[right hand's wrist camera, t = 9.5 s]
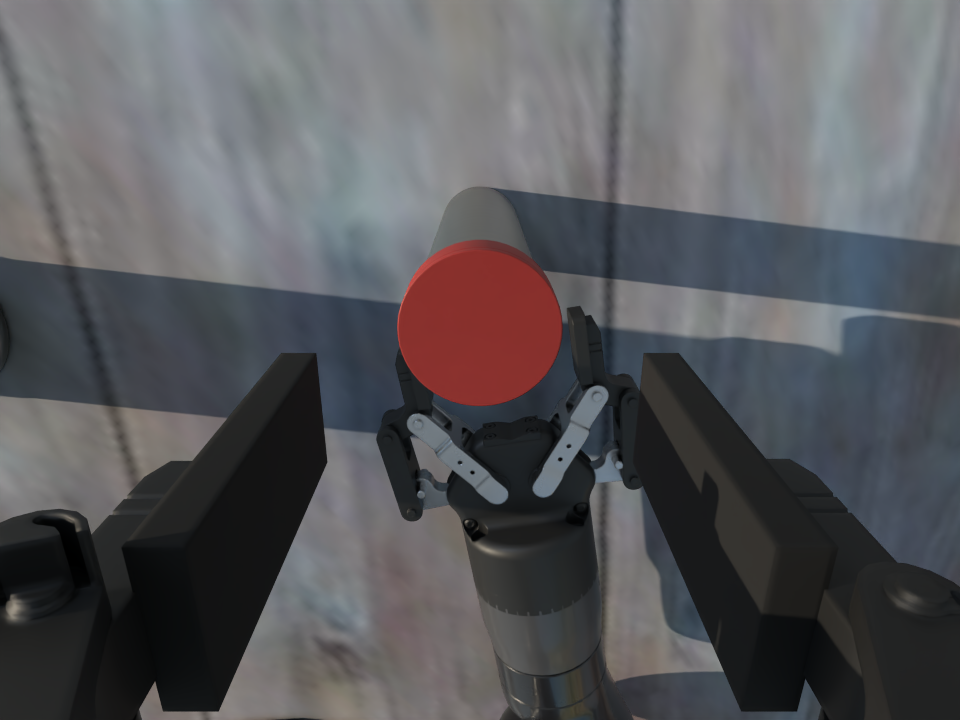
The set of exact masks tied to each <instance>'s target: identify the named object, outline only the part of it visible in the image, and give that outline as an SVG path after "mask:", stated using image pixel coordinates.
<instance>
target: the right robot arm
mask: <svg viewBox="0 0 960 720" xmlns="http://www.w3.org/2000/svg"><path fill="white" fill-rule="evenodd" d="M326 464H327V454H326V444H325V435H324V425H323V415H322V405H321V395H320V386H319V376H318V366H317V356H316V353H281V354H280V355H279V357H278V358H277V359H276V360H275V361H274V363H273V364H272V365H271V366H270V368H269V369H268V370H267V371H266V372H265V374H264V375H263V376H262V377H261V378H260V380H259V381H258V382H257V383H256V385H255V386H254V387H253V388H252V389H251V391H250V392H249V393H248V394H247V395H246V397H245V398H244V399H243V400H242V401H241V403H240V404H239V405H238V406H237V408H236V409H235V410H234V411H233V412H232V414H231V415H230V416H229V417H228V418H227V420H226V421H225V422H224V423H223V425H222V426H221V427H220V428H219V429H218V431H217V432H216V433H215V434H214V435H213V437H212V438H211V439H210V440H209V442H208V443H207V444H206V445H205V446H204V448H203V449H202V450H201V451H200V452H199V454H198V455H197V456H196V457H195V458H194V460H193V461H170V462H169V463H167V464H165V465H164V466H162V467H160V468H159V469H157V470H155V471H154V472H152V473H150V474H149V475H147V476H145V477H144V478H143V479H142V480H141V481H140V482H139V484H138V485H137V486H136V487H135V488H134V489H133V490H132V491H131V492H130V493H129V494H128V495H127V499H124V500H123V501H122V502H121V503H120V504H119V505H118V506H117V507H116V509H115V510H114V511H113V515H109V516H108V517H107V518H106V519H105V520H104V522H103V523H102V524H101V525H100V526H99V527H98V528H97V529H96V530H95V531H94V532H93V534H92V535H91V532H90V528H89V525H88V521H87V519H86V518H85V517H84V516H82V515H81V514H80V513H78V512H76V511H70V510H63V509H54V510H43V511H35V512H32V513H28V514H24V515H20V516H16V517H13V518H10V519H8V520H6V521H3V522H1V523H0V720H142V718H141V715H140V711H139V708H140V706H141V705H142V703H143V701H144V699H145V698H146V696H147V694H148V692H149V691H150V689H151V687H152V685H153V684H154V682H156V686H157V690H158V694H159V697H160V701H161V705H162V709H163V711H219V709H220V707H221V705H222V702H223V700H224V698H225V696H226V693H227V691H228V689H229V686H230V684H231V682H232V680H233V677H234V675H235V673H236V670H237V668H238V666H239V664H240V661H241V659H242V657H243V654H244V652H245V650H246V647H247V645H248V643H249V641H250V638H251V636H252V634H253V631H254V629H255V627H256V625H257V622H258V620H259V618H260V615H261V613H262V611H263V609H264V606H265V604H266V602H267V599H268V597H269V595H270V592H271V590H272V588H273V586H274V583H275V581H276V579H277V576H278V574H279V572H280V570H281V567H282V565H283V563H284V560H285V558H286V556H287V553H288V551H289V549H290V547H291V544H292V542H293V540H294V537H295V535H296V533H297V531H298V528H299V526H300V524H301V521H302V519H303V517H304V515H305V512H306V510H307V508H308V505H309V503H310V501H311V498H312V496H313V494H314V492H315V489H316V487H317V485H318V482H319V480H320V478H321V476H322V473H323V471H324V469H325V466H326ZM633 464H634V466H635V469H636V471H637V473H638V476H639V478H640V480H641V482H642V485H643V487H644V489H645V492H646V494H647V496H648V498H649V501H650V503H651V505H652V508H653V510H654V512H655V515H656V517H657V519H658V521H659V524H660V526H661V528H662V531H663V533H664V535H665V537H666V540H667V542H668V544H669V547H670V549H671V551H672V553H673V556H674V558H675V560H676V563H677V565H678V567H679V570H680V572H681V574H682V576H683V579H684V581H685V583H686V586H687V588H688V590H689V592H690V595H691V597H692V599H693V602H694V604H695V606H696V609H697V611H698V613H699V615H700V618H701V620H702V622H703V625H704V627H705V629H706V631H707V634H708V636H709V638H710V641H711V643H712V645H713V647H714V650H715V652H716V654H717V657H718V659H719V661H720V664H721V666H722V668H723V670H724V673H725V675H726V677H727V680H728V682H729V684H730V686H731V689H732V691H733V693H734V696H735V698H736V700H737V702H738V705H739V707H740V709H741V711H797V709H798V705H799V701H800V697H801V694H802V690H803V686H804V682H805V679H806V680H807V682H808V684H809V686H810V687H811V689H812V691H813V693H814V694H815V696H816V698H817V699H818V701H819V703H820V705H821V706H822V707H821V711H820V715H819V718H818V720H960V587H959V586H958V585H956V584H955V583H954V582H952V581H950V580H948V579H946V578H944V577H942V576H940V575H938V574H936V573H934V572H932V571H929V570H926V569H923V568H919V567H916V566H913V565H909V564H906V563H897V562H896V561H895V560H894V559H893V557H892V556H891V555H890V554H889V553H888V552H887V551H886V550H885V549H884V548H883V547H882V546H881V544H880V543H879V542H878V541H877V540H876V539H875V538H874V537H873V536H872V535H871V534H870V533H869V532H868V530H867V529H866V528H865V527H864V526H863V525H862V524H861V523H860V522H859V521H858V520H857V519H856V518H855V516H854V515H853V514H852V513H848V511H847V508H846V507H845V506H844V505H843V503H842V502H841V501H840V500H839V499H838V498H837V497H833V493H832V492H831V491H830V489H829V488H828V487H827V486H826V485H825V484H824V483H823V482H822V481H821V480H820V479H819V478H818V477H817V475H815V474H814V473H812V472H810V471H809V470H807V469H805V468H804V467H802V466H800V465H799V464H797V463H795V462H794V461H792V460H790V459H766V458H765V457H764V456H763V455H762V454H761V452H760V451H759V450H758V449H757V448H756V446H755V445H754V444H753V443H752V442H751V440H750V439H749V438H748V437H747V435H746V434H745V433H744V432H743V431H742V429H741V428H740V427H739V426H738V425H737V423H736V422H735V421H734V420H733V418H732V417H731V416H730V415H729V414H728V412H727V411H726V410H725V409H724V408H723V406H722V405H721V404H720V403H719V402H718V400H717V399H716V398H715V397H714V395H713V394H712V393H711V392H710V391H709V389H708V388H707V387H706V386H705V385H704V383H703V382H702V381H701V380H700V378H699V377H698V376H697V375H696V374H695V372H694V371H693V370H692V369H691V368H690V366H689V365H688V364H687V363H686V361H685V360H684V359H683V358H682V357H681V355H680V354H679V353H644V356H643V366H642V376H641V386H640V395H639V405H638V415H637V425H636V435H635V444H634V454H633Z"/></svg>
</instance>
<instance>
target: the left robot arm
mask: <svg viewBox="0 0 960 720" xmlns="http://www.w3.org/2000/svg"><path fill="white" fill-rule="evenodd" d="M567 317H568V324H569V332H570V340H571V348H572V356H573V364H574V370H575V373H576V376H577V379H576V381H575V382H574V384H573V386H572V387H571V389H570V390H569V392H568V394H567V395H566V397H565V398H562V399H561V400H560V401H559V402H558V404H557V406H556V407H555V409H554V410H553V412H552V414H551V415H550V417H549V418H548V420H547V421H545V420H541V419H538V418H537V416H531V417H524V418H521V419H519V420H517V421H514V422H512V423H504V422H492V423H485V424H483V428H481V429H479V430H477V431H475V430H473V429H472V428H471V427H470V426H469V425H467V424H466V423H465V422H464V421H462V420H461V419H460V418H459V417H457V416H456V415H450V414H449V413H448V412H446V411H445V410H444V409H443V408H442V407H440V406H439V405H438V404H437V403H435V402H434V401H433V393H434V392H432V391H431V390H429V389H428V388H427V387H426V386H424V385H423V384H422V383H421V382H420V381H419V380H418V379H417V378H416V376H415V375H414V374H413V373H412V371H411V370H410V368H409V367H408V365H407V363H406V361H405V359H404V357H403V355H402V352H401V349H400V348H399V351H398V354H397V358H396V364H395V365H396V369H397V373H398V377H399V381H400V386H401V390H402V394H403V398H404V402H405V405H404V406H402V407H401V408H399V409H397V410H394V409H392V410H388V411H387V412H385V414H384V415H383V418H382V424H381V427H380V430H379V431H378V434H377V438H376V439H377V443H378V446H379V449H380V452H381V455H382V458H383V461H384V464H385V467H386V470H387V473H388V476H389V479H390V482H391V485H392V488H393V491H394V494H395V497H396V500H397V503H398V506H399V509H400V512H401V515H402V517H403V518H404V519H406V520H408V521H417V520H419V519H420V518H421V516H422V513H423V510H425V509H430V508H435V507H440V506H445V505H450V506H451V507H452V508H453V509H454V510H455V511H456V512H457V514H458V515H459V517H460V519H461V523H462V527H463V531H464V536H465V541H466V545H467V550H468V554H469V559H470V563H471V568H472V572H473V577H474V582H475V586H476V591H477V595H478V600H479V604H480V609H481V613H482V617H483V621H484V623H485V626H486V629H487V631H488V633H489V636H490V638H491V641H492V645H493V649H494V653H495V658H496V663H497V667H498V672H499V677H500V682H501V686H502V690H503V693H504V696H505V698H506V701H507V703H508V705H509V706H508V708H507V709H506V710H505V711H504V713H503V714H502V716H501V718H500V720H634V719H633V717H632V715H631V713H630V711H629V709H628V707H627V705H626V704H625V702H624V700H623V698H622V696H621V694H620V692H619V690H618V689H617V687H616V685H615V683H614V680H613V678H612V676H611V674H610V672H609V670H608V668H607V665H606V658H605V651H604V644H603V636H602V629H601V615H602V597H601V588H600V580H599V573H598V564H597V556H596V549H595V541H594V533H593V525H592V517H591V510H590V502H589V498H590V494H591V491H592V489H593V487H594V485H595V483H603V482H614V481H623V483H624V485H625V486H626V487H627V488H628V489H632V490H635V489H639V488H640V487H642V486H643V485H642V482H641V480H640V478H639V476H638V473H637V471H636V469H635V466H634V464H633V454H634V444H635V435H636V425H637V415H638V405H639V395H640V391H639V389H638V387H637V386H636V384H635V382H634V380H633V379H632V377H631V376H630V375H628V374H620V375H617V376H616V375H610V374H607V373H606V372H605V370H604V361H603V351H602V343H601V333H600V330H599V329H598V327H597V325H596V323H595V321H594V320H593V318H592V316H591V315H588V316H585V315H584V312H583V310H582V308H581V307H580V306H576V307H570V308H567ZM8 350H9V335H8V329H7V324H6V321H5V318H4V316H3V313H2V311H1V309H0V371H1V370H2V368H3V366H4V364H5V362H6V359H7V355H8ZM604 405H611V406H613V428H614V441H608V442H607V444H606V445H605V446H604V448H603V452H602V455H601V456H600V458H599V459H597V460H595V461H591V460H590V458H589V457H588V456H587V455H586V454H585V453H584V452H583V451H582V450H581V449H580V448H581V447H582V445H583V444H584V442H585V441H586V439H587V437H588V435H589V432H590V427H591V425H592V423H593V422H594V420H595V419H596V417H597V416H598V414H599V412H600V411H601V409H602V408H603V406H604ZM413 434H415V435H416V436H417V437H418V438H420V439H421V440H422V441H423V442H425V443H426V444H427V445H428V446H430V447H431V448H432V449H433V450H434V451H435V453H436V455H437V457H438V458H439V459H440V460H441V461H442V462H443V463H444V464H446V465H447V466H448V467H449V468H451V469H452V472H451V474H450V475H449V477H448V480H447V483H440V482H438V481H436V480H435V479H434V477H433V475H432V474H431V473H430V472H429V471H428V470H427V469H422V470H420V467H419V464H418V461H417V458H416V455H415V451H414V448H413V445H412V442H411V439H410V436H411V435H413Z"/></svg>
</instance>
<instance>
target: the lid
mask: <svg viewBox="0 0 960 720" xmlns="http://www.w3.org/2000/svg"><path fill="white" fill-rule="evenodd" d="M397 328H398V340H399V345H400V349H401V352H402V355H403V357H404V359H405V361H406V363H407V365H408V367H409V368H410V370H411V371H412V373H413V374H414V375H415V376H416V378H417V379H418V380H419V381H420V382H421V383H422V384H423V385H424V386H426V387H427V388H428V389H429V390H431V391H432V392H434V393H435V394H437V395H439V396H441V397H443V398H445V399H447V400H450V401H452V402H456V403H460V404H463V405H471V406H489V405H496V404H500V403H505V402H507V401H510V400H513V399H515V398H517V397H519V396H521V395H523V394H525V393H526V392H528V391H529V390H531V389H532V388H533V387H534V386H536V385H537V384H538V383H539V382H540V381H541V380H542V379H543V378H544V376H545V375H546V374H547V373H548V371H549V370H550V368H551V367H552V365H553V363H554V361H555V359H556V357H557V355H558V352H559V349H560V345H561V340H562V330H563V325H562V315H561V311H560V306H559V304H558V301H557V298H556V296H555V293H554V291H553V288H552V286H551V284H550V282H549V280H548V278H547V276H546V275H545V273H544V272H543V270H542V269H541V268H540V267H539V266H538V265H537V263H536V262H535V261H534V260H533V259H531V258H530V257H529V256H528V255H526V254H525V253H523V252H522V251H520V250H518V249H517V248H514V247H512V246H510V245H507V244H504V243H501V242H497V241H491V240H469V241H463V242H459V243H455V244H453V245H450V246H448V247H445V248H444V249H442V250H440V251H438V252H436V253H435V254H434V255H433V256H431V257H430V258H429V259H427V260H426V261H425V262H424V263H423V264H422V265H421V267H420V268H419V269H418V271H417V272H416V273H415V275H414V276H413V278H412V280H411V282H410V284H409V286H408V289H407V291H406V294H405V296H404V298H403V301H402V303H401V307H400V311H399V315H398V324H397Z"/></svg>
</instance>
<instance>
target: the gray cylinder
mask: <svg viewBox="0 0 960 720" xmlns="http://www.w3.org/2000/svg"><path fill="white" fill-rule="evenodd" d="M469 240H491V241H497V242H501V243H504V244H507V245H510V246H512V247H514V248H517V249H518V250H520V251H522V252H523V253H525V254H526V255H528V256H529V257H530V258H531V259H532V256H531V254H530V251H529V248H528V245H527V242H526V240H525V237H524V234H523V231H522V228H521V226H520V223H519V220H518V217H517V214H516V212H515V209H514V207H513V205H512V204H511V202H510V201H509V200H508V199H507V198H506V197H505V196H504V195H503V194H501V193H500V192H498V191H496V190H494V189H491V188H487V187H473V188H469V189H466V190H464V191H462V192H460V193H459V194H457V195H456V196H455V197H454V198H453V199H452V200H451V201H450V202H449V204H448V205H447V207H446V209H445V212H444V214H443V217H442V220H441V223H440V225H439V228H438V231H437V234H436V237H435V239H434V242H433V245H432V248H431V251H430V253H429V256H428V259H429V258H430V257H431V256H433V255H434V254H435V253H436V252H438V251H440V250H442V249H444V248H445V247H448V246H450V245H453V244H455V243H459V242H463V241H469Z"/></svg>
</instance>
